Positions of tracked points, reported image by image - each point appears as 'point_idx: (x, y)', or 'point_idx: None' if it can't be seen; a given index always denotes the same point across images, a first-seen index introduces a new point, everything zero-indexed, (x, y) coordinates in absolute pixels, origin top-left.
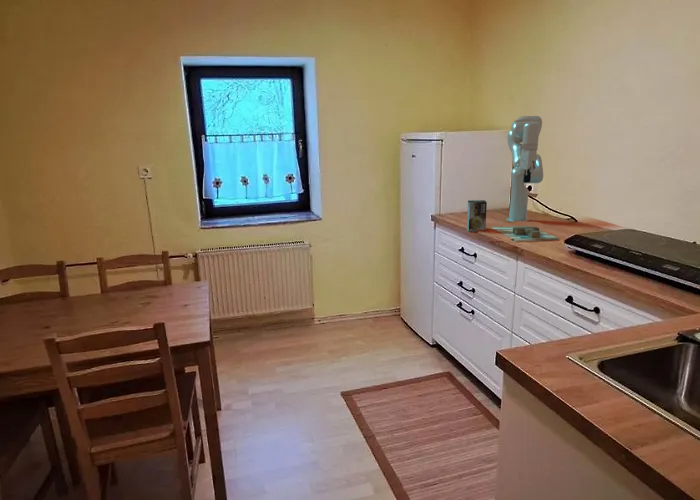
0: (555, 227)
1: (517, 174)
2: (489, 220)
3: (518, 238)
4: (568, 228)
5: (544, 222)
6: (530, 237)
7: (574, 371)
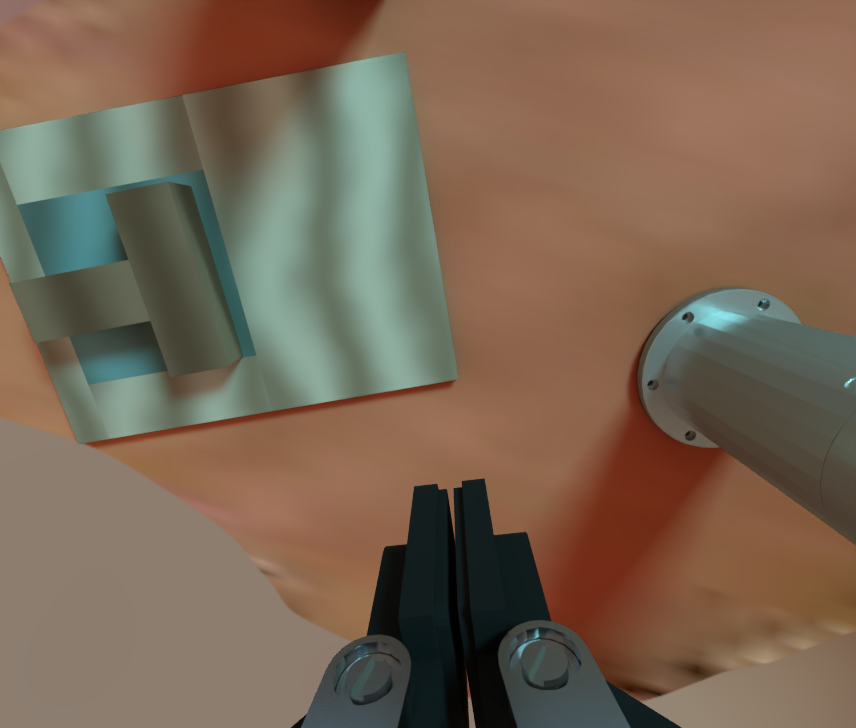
0: None
1: None
2: (769, 143)
3: (10, 178)
4: None
5: (625, 522)
6: None
7: None
